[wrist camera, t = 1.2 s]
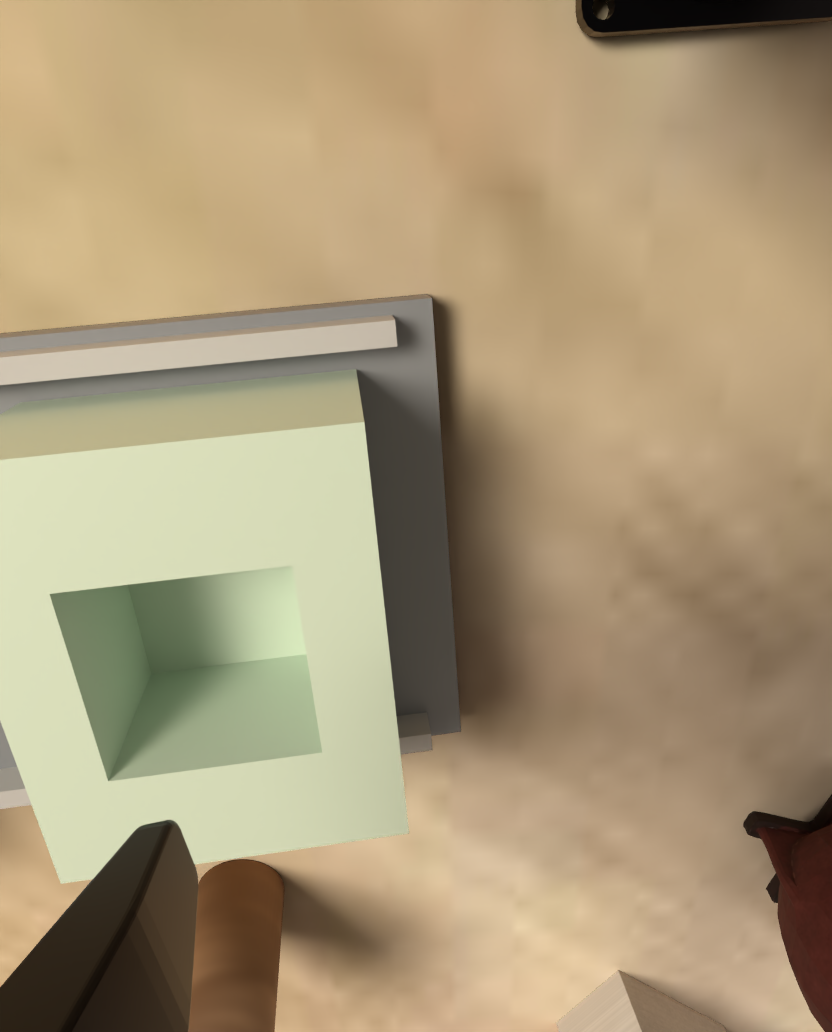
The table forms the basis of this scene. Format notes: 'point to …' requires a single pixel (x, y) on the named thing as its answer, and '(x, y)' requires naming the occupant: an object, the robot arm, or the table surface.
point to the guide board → (389, 435)
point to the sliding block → (197, 620)
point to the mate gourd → (803, 899)
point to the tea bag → (633, 1011)
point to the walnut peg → (237, 948)
